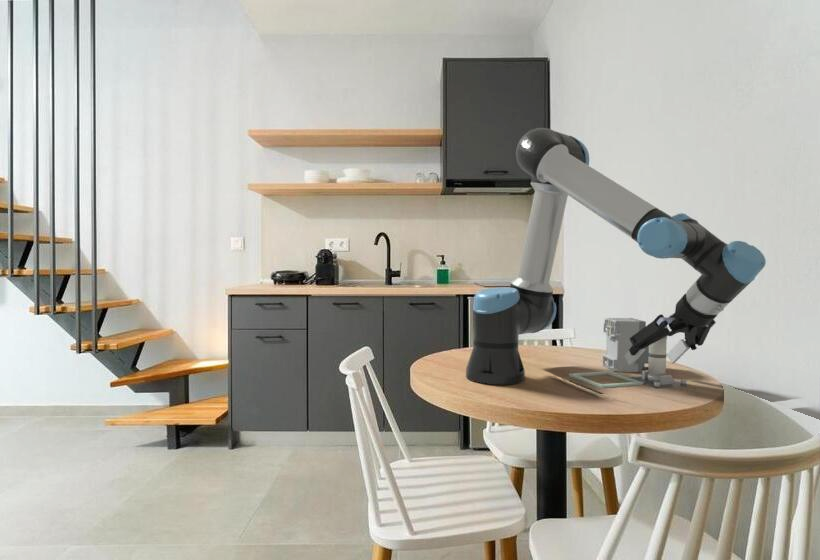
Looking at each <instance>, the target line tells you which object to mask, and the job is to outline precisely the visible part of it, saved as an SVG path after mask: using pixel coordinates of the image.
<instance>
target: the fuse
mask: <svg viewBox="0 0 820 560" xmlns="http://www.w3.org/2000/svg"><path fill="white" fill-rule="evenodd" d="M667 339H668V336H666V337H664V338H662V339H660V340H658V341H657V342H655V343H653V344H651V345H649V352H648V356H649V360H648V365H647V367H648V369H647V370H648V381H649V382H653V383H654V382H659V381H660V376H663V375H667V372H666V371H667V343H668V342H667Z"/></svg>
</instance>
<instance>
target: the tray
mask: <svg viewBox="0 0 820 560" xmlns="http://www.w3.org/2000/svg"><path fill="white" fill-rule="evenodd" d="M600 375H601V376H602V375H603V376H604V375H608V376H610V377H611V376H612V377H615V378H617V379H621V380H624V381H626V382H615V383H604V384H603V383H599V382H596V381H593V380H591V379H588V378H586V377H589V376H591V377H592V376H600ZM568 377H570V378H574V379H576V380H579V381H582V382H584V383H586V384H589V385H593V386H594V387H597V388H599V389H607V388H608V389H609V388H618V387H629V386H631V387H632V386H642V385H644V384H643V382H641V381H638V380H635V379H631V378H629V377H628V376H625V375H621V374H618V373H616V372H614V371H611V370H610V371H609V370H604V371H590V372H588V371H587V372H577V373H575V372H574V373H569V374H568ZM568 383H571V384H574V385H577V386H579V387H582V388H584V389H587V390H589V391H591V392H594V393H597V394H598V395H605V393H604V392H601V391H598V390H596V389H593V388H590V387H588V386H585V385H584V384H581V383H578V382H575V381H573V380H570V379H569V380H568Z"/></svg>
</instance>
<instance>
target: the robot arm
mask: <svg viewBox="0 0 820 560" xmlns="http://www.w3.org/2000/svg"><path fill="white" fill-rule="evenodd" d="M515 157H516V163H517V165H518V167H519V168H520V169H521V170H522V171H524V172H525V173H527V174H528V175H529V176H531V180H530V186H531V187H532V188H533V190H534V193H533V199H532V205H531V209H530V215H529V220H528V223H527V228H526V235H525V240H524V244H523V249H522V254H521V259H520V264H519V268H518V273H517V277H516V278H514V279H513V280H511V282H510V285H509V287H507V286H504V287H501V286H500V287H495V288H493V287H491V288H489V287H488V288H484V289H481V290H478V291H477V292H475V294H474V296H473V305H472V310H473V312H472V313H473V316H472V318H473V319H472V320H473V321H472V322H473V323H472V329H473V330H472V331H473V332H472V333H473V334H472V337H473V338H472V343H473V344H472V349H471V353H470V356H469V359H468V361H467V365H466V369H465V377H466V378H467V379H468V380H469V379H470V380H469V381H472V380H473V382H475V381H476V382H475V383H479V382H480V384H485V383H487V384H486V385H515V384H520V383H522V382H524V381H525V377H526V375H525V374H526V372H525V371H526V370H525V368H524V365H523V364H524V363H523V361H522V358H521V355H520V352H519V335H526V334H535V333H539V332H541V331H544V330H545V329H547V328H548V327H550V326H551V325H552V323H553V322H554V320H555V319H556V315H557V304H556V302H555V301H554V300H555V299H554V297H553V294H554V288H553V287H552V286H551V284H550V282H551V281H550V280H551V275H552V271H553V265H554V262H555V261H554V260H555V257H556V252H557V248H558V243H559V239H560V234H561V233H560V232H561V229H562V225H563V221H564V215H565V211H566V206H567V202H568V201H567V200H568V196H569V197H570V198H572V199H573V200H575V201H576V202H577V203H579V204H581V205H582V206H583V207H585V208H587V209H588V210H589V211H591V212H592V213H594V214H595V215H597V216H598V217H600V219H603V220H604V221H605V222H607V223H609V224H610V225H611V226H613V227H615V228H616V229H617V230H619V231H620V232H622V233H623V234H625V235H626V236H627V237H629V238H631V239H632V240H633V241H635V242H636V243H637V244H638V247H639V248H640V249H641V250H642V252H643V253H644V254H646V255H648V256H650V257H654V258H656V259H682V260H683V261H684V262H685V263H687V264H688V265H689V266H690V267H692V268H693V269H694V270H695V271H697V273H699V274H701V275H700V276H698V278H697V279H696V281H694V283H692V285H691V286H690V287H689V288H688V289H687V290H686V292H685V293H684V294H683V295H682V296H681V298H680V299H679V300H678V301H677V302H676V303H675V308H674V309H675V310H674V313H672V314H671V315H669V316H667V317H665V316H664V315H663V314H658V315H657V316H656V317H655V318H654V320H652V321H651V322H650V323H648V324H646V327H644V328H643V329H642V330H640V331H639V332H637V333H636V334H635V335H633V336H632V337H631V338H630V341H631V343H632V347H631V348H630V349H629V351H628V352H627V353H626V355H625V358H626V360H627V362H628V364H629V365H633V363H634V362H635V361H636V360H637V359H638V358H639V357H640V356H641V354H642V353H643V352H644V351H645V347H647V346H649V345H651V344H653V343H655V342H657V341H658V340H660V339H662V338H664V337H666V336H667V337H672V336H674V335H676V334H677V333H678V334H680V333H684V339H682V338H681V339H680V340H678V342H677V343H675V345H673V347H672V348H671V349H669V351H668V352H666V354H667V355H666V357H667V358H668V360H669V361H670V363H671V364H675V363H676V362H677V361H678V360H679V359H681V357H682V356H683V355H685V353H686V352H687V351H689V350H690V349H691V351H695V350H697V349H698V347H697V346H703V345H704V343H705V341H706V338H707V337H708V334H709V332H710V330H711V329H712V328H713V326H714V325H715V324H716V320H715V318H717V317H718V314H720V313H722V312H723V311H724V310H725V308H726V307H727V306H728V305H729V304H730V303H731V302H732V301H733V300H734V299H735V298H736V297H737V296H739V294H740V293H742V291H744V290H745V289H746V288H747V287H748V286H749V285H750V284H751V283H753V281H754V280H755V278H756V277H757V276H758V275H759V273H760V272H761V271H763V269H764V268H765V266H766V258H765V255H764V253H762V252H761V250H760V249H758V247H756V246H754V245H751V244H748V243H747V242H746V241H742V240H734V241H730V242H729V243H725V241H723V240H721V239H720V238H719V237H717V236H716V235H715V234H713V233H712V232H711V231H709V230H708V229H707V228H705V227H704V226H703V225H702V224H700V223H699V221H698V220H697V219H694V218H692V217H691V216H689V215H687V214H686V213H683V212H680V213H676V214H674V215H669V214H668V213H666V212H665V211H663V210H661V209H659V208H658V207H656V206H655V205H654V204H651V203H650V202H648V201H646V200H644V199H643V198H642V197H640V196H638V195H637V194H635V193H634V192H632V191H631V190H629V189H627V188H625V187H624V186H622V185H621V184H619V183H617V182H616V181H614V180H612V179H610V178H609V177H608V176H606V175H604V174H603V173H601V172H600V171H598V170H596V169H595V168H593V167H591V166H590V154H589V151H588V148H587V147H586V145H585V144H584V143H583V142H582V141H580V140H578V138H576V137H574V136H572V135H567V134H565V133H562V132H558V131H556V130H553V129H550V128H548V127H537V128H534V129H531V130H529V131H527V132H526V133H525V134H524V135H523V136H522V137H521V138H520V139H519V141H518V143H517V146H516V150H515ZM669 329H670V330H669Z"/></svg>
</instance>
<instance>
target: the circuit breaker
mask: <svg viewBox="0 0 820 560" xmlns="http://www.w3.org/2000/svg"><path fill="white" fill-rule="evenodd" d="M646 326H647V321H644V320H642V319H638V318H632V317H604V323H603V331H602V332H603V334H605V337H606V338H605V340H606V345H605V346H606V347H605V353H603V354H602V366H604V368H605V367H606V368H607V369H608V370H610V371H612V372H618V373H619V372H620V373H623V372H624V373H625V372H627V373H630V372H631V373H634V372H635V373H642V371H645V368H646V367H645V366H646V364H648V360H649V356H648V352H649V346H647V347H645V351H644V352H643V353H642V354H641V356H640V357H639V358H638V359H637V360H636V361H635V362H634V363H633V365H629V364H628V362H627V360H626V358H625V355H626V353H627V352H628V351H629V349H630V348H631V347H632V343H631V341H630V338H631V337H632V336H633V335H635V334H636V333H637V332H639V331H640V330H642V329H643V328H644V327H646Z"/></svg>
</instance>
